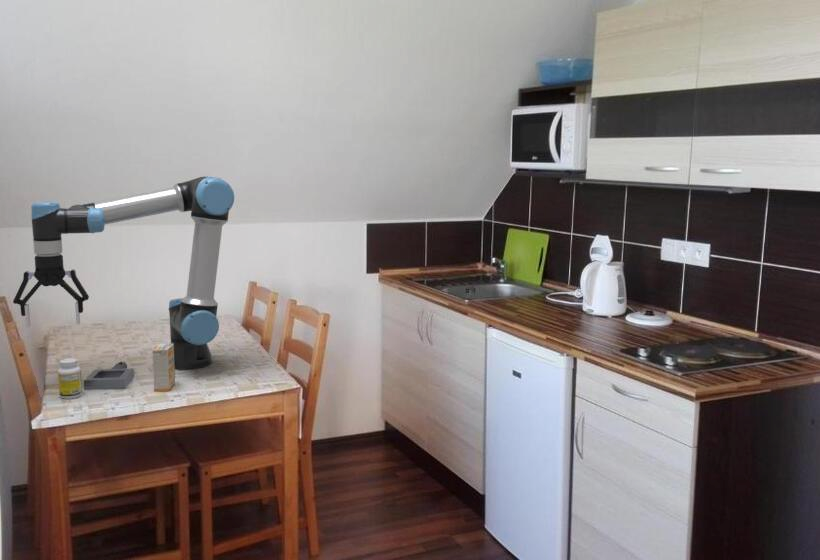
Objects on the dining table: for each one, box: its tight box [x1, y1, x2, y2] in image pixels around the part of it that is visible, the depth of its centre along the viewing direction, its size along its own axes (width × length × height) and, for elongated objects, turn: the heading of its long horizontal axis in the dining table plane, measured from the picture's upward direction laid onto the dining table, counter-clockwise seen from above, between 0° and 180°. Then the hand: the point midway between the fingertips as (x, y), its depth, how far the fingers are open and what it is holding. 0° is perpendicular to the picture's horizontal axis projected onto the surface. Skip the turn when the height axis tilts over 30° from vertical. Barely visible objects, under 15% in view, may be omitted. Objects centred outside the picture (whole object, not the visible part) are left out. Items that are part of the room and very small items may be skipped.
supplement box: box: [151, 343, 176, 392], centre depth 230 cm, size 8×5×13 cm, turn 5°
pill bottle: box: [57, 357, 83, 400], centre depth 221 cm, size 6×6×11 cm
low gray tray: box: [83, 361, 135, 391], centre depth 240 cm, size 22×12×3 cm, turn 7°
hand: (53, 325), depth 223 cm, fingers open, 13 cm apart
